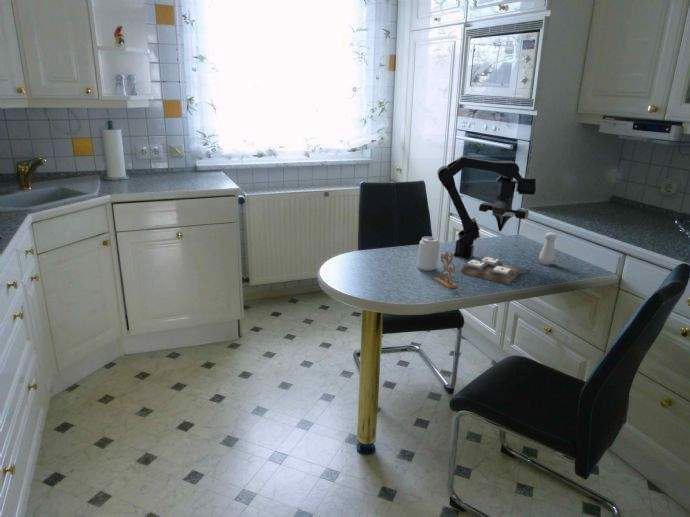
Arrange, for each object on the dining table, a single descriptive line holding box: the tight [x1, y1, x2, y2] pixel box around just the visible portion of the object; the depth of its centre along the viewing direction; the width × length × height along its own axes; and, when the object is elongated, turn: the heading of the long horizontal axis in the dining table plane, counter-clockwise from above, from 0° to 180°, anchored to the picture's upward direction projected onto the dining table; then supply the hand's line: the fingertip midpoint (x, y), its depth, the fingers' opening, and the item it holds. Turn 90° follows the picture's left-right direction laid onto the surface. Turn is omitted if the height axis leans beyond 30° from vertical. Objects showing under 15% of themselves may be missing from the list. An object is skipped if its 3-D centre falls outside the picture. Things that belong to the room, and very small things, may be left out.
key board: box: [460, 256, 521, 285], centre depth 195 cm, size 18×15×3 cm
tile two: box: [481, 256, 500, 265], centre depth 199 cm, size 5×5×2 cm
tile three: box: [466, 259, 485, 268], centre depth 194 cm, size 5×5×2 cm
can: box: [416, 236, 441, 272], centre depth 194 cm, size 8×8×12 cm
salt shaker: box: [538, 231, 557, 266], centre depth 208 cm, size 6×6×13 cm
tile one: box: [493, 266, 511, 274], centre depth 189 cm, size 5×5×2 cm
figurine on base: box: [433, 251, 458, 290], centre depth 180 cm, size 9×4×12 cm, turn 27°
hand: (500, 231), depth 208 cm, fingers closed
